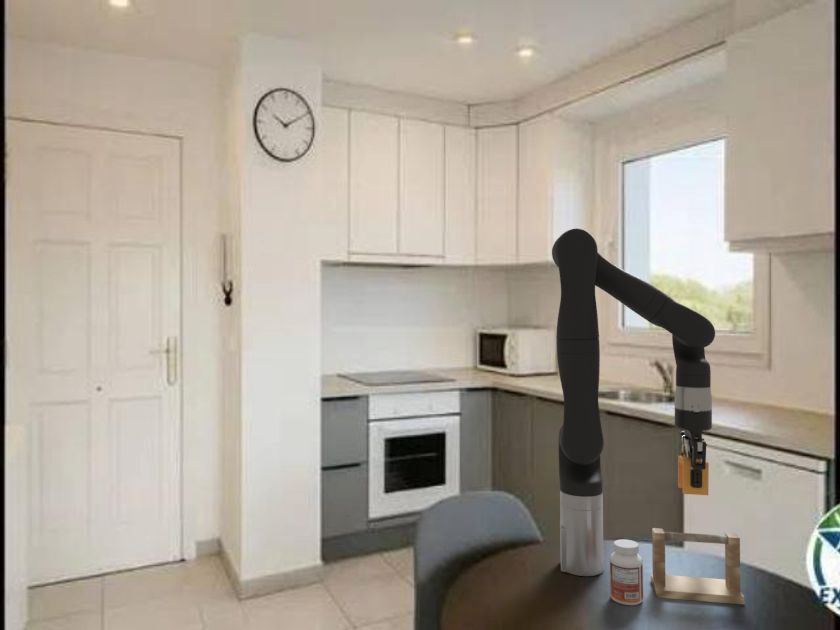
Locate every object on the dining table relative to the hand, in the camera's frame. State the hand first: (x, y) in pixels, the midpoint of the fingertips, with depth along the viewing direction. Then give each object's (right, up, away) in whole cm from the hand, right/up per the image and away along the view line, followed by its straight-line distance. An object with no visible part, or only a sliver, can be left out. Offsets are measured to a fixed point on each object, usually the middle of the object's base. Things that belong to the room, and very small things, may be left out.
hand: (692, 483), depth 137 cm
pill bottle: (-19, -20, -13) cm, 30 cm away
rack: (-4, -19, -10) cm, 22 cm away
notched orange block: (0, -2, 0) cm, 2 cm away
